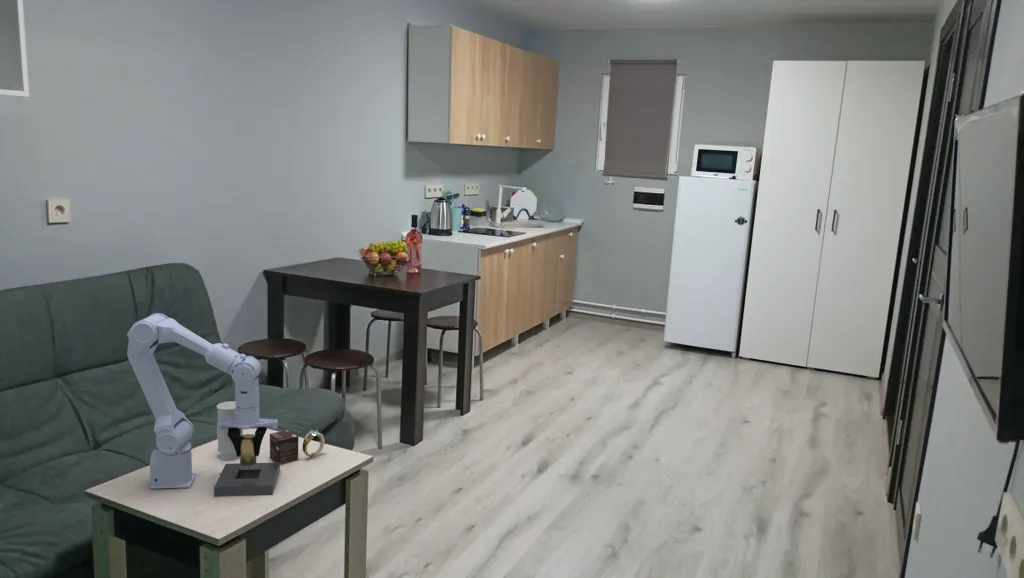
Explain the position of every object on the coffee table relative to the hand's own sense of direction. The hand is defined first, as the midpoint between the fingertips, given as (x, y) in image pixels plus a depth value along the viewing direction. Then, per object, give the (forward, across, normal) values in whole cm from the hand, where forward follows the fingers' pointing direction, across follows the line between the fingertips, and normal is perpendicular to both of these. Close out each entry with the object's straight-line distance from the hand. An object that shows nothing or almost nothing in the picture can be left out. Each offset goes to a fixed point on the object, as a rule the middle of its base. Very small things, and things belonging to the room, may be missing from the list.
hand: (248, 454), depth 186 cm
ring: (+8, +15, +16) cm, 23 cm away
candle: (+8, -8, +18) cm, 21 cm away
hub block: (+8, 0, 0) cm, 8 cm away
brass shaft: (+2, 0, 0) cm, 2 cm away
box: (+8, +7, +15) cm, 18 cm away
